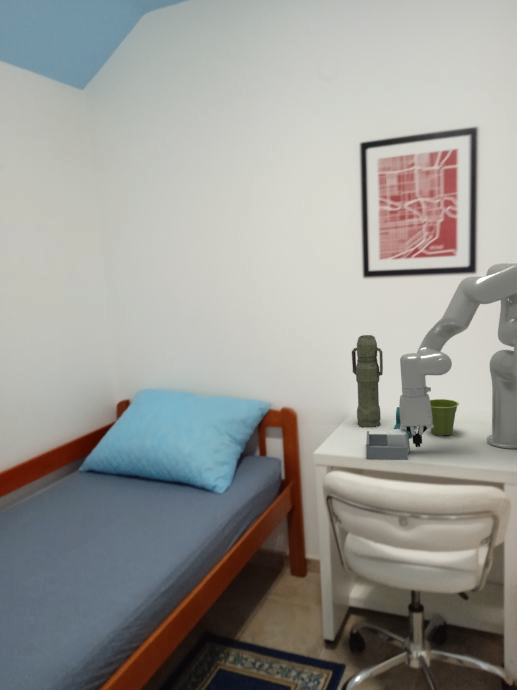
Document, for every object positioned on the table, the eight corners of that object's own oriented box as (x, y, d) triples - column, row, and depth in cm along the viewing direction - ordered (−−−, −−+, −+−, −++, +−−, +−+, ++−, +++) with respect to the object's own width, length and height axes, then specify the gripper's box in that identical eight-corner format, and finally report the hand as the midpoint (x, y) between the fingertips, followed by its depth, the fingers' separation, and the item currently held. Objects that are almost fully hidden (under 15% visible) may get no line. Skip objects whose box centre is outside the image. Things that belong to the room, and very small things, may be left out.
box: (405, 445, 186) (405, 431, 185) (407, 459, 172) (407, 444, 172) (367, 445, 188) (366, 431, 188) (366, 458, 175) (366, 444, 174)
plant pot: (425, 427, 204) (424, 398, 202) (458, 429, 200) (458, 399, 198) (423, 437, 193) (423, 406, 191) (459, 439, 189) (459, 407, 187)
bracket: (398, 424, 210) (398, 405, 209) (416, 425, 207) (416, 405, 206) (391, 439, 194) (390, 418, 193) (410, 440, 191) (410, 419, 190)
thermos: (356, 420, 218) (354, 334, 213) (386, 422, 213) (384, 334, 208) (351, 426, 210) (348, 337, 205) (381, 429, 205) (379, 337, 200)
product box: (407, 456, 175) (405, 434, 174) (388, 456, 177) (386, 434, 177) (410, 450, 180) (408, 428, 179) (392, 449, 183) (389, 428, 182)
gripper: (436, 387, 178) (439, 441, 180) (390, 390, 181) (394, 442, 184) (439, 393, 170) (442, 449, 173) (391, 395, 174) (395, 450, 176)
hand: (417, 445), depth 178 cm, fingers closed
